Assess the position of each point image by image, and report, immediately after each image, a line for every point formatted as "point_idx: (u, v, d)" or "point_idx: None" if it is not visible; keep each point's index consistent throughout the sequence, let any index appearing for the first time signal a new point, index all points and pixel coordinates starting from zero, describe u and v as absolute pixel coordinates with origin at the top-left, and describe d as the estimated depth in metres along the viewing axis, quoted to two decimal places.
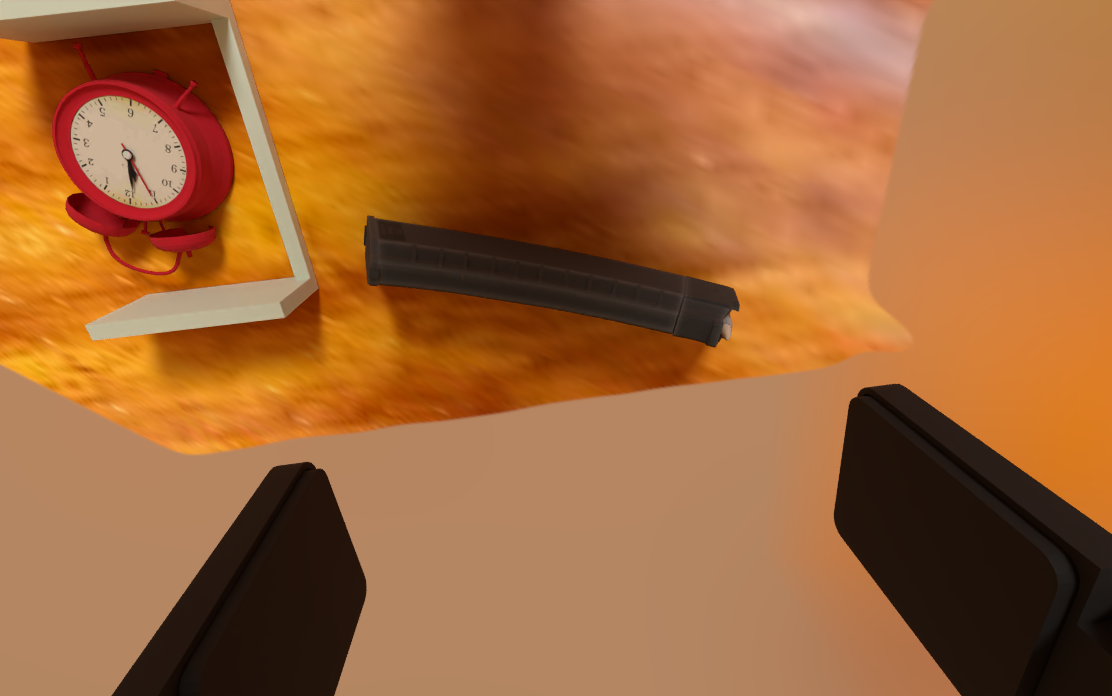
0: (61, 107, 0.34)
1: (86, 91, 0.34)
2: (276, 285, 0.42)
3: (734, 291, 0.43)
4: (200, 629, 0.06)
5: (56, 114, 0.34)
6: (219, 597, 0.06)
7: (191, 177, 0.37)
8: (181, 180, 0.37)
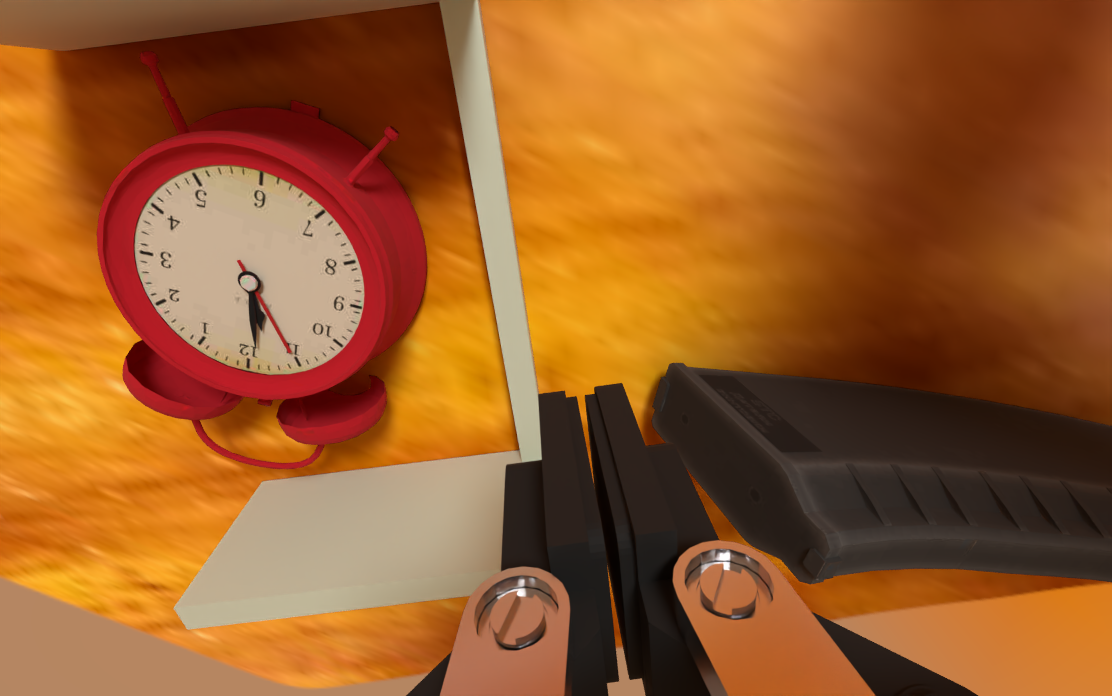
0: (116, 193, 0.16)
1: (169, 158, 0.16)
2: (497, 481, 0.23)
3: None
4: (582, 500, 0.07)
5: (105, 208, 0.16)
6: (574, 481, 0.07)
7: (373, 320, 0.18)
8: (351, 324, 0.18)
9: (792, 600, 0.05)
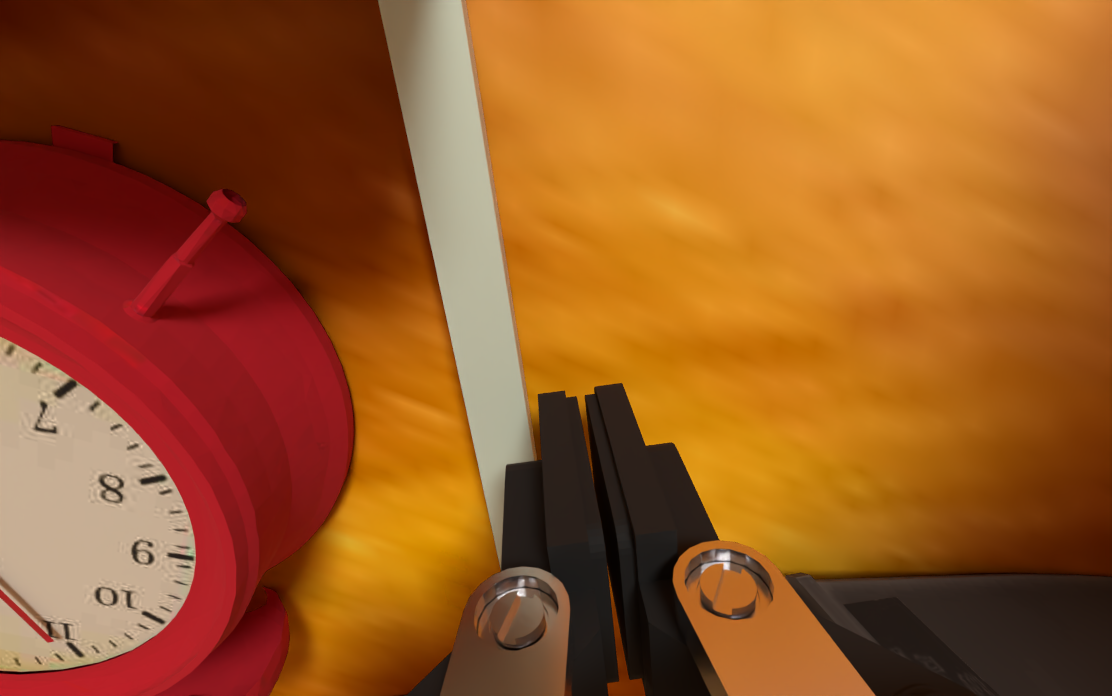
0: None
1: None
2: None
3: None
4: (581, 501, 0.07)
5: None
6: (574, 481, 0.07)
7: (217, 584, 0.09)
8: (175, 586, 0.09)
9: (792, 600, 0.05)
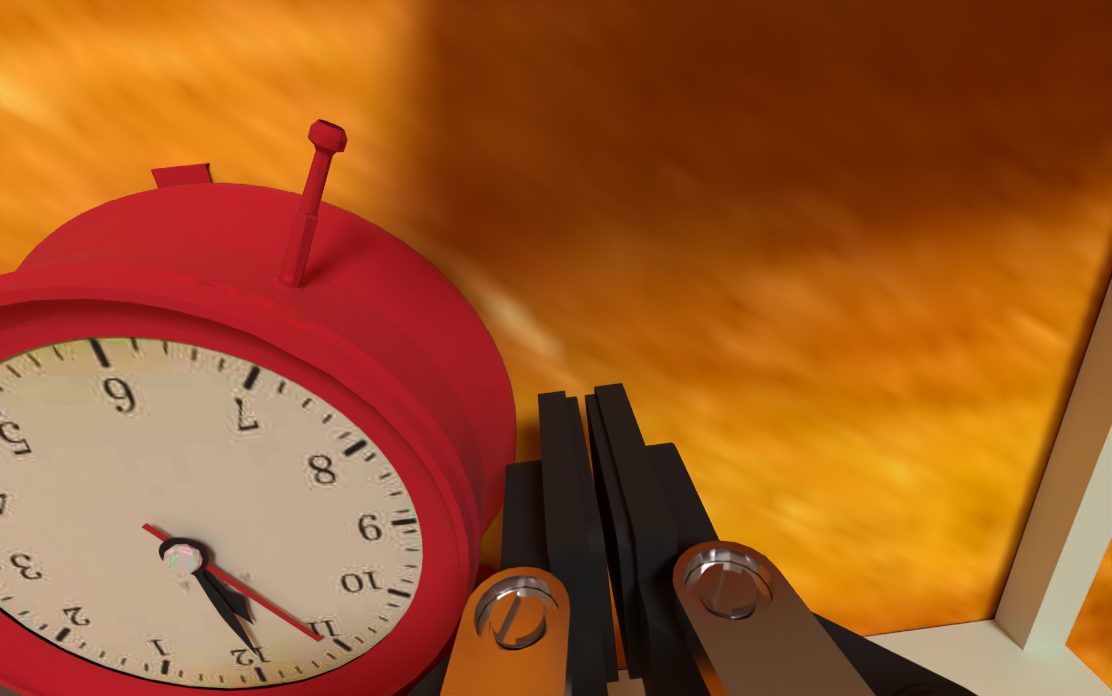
0: None
1: None
2: (1018, 695, 0.14)
3: None
4: (582, 501, 0.07)
5: None
6: (575, 481, 0.07)
7: (446, 538, 0.08)
8: (408, 555, 0.09)
9: (792, 600, 0.05)
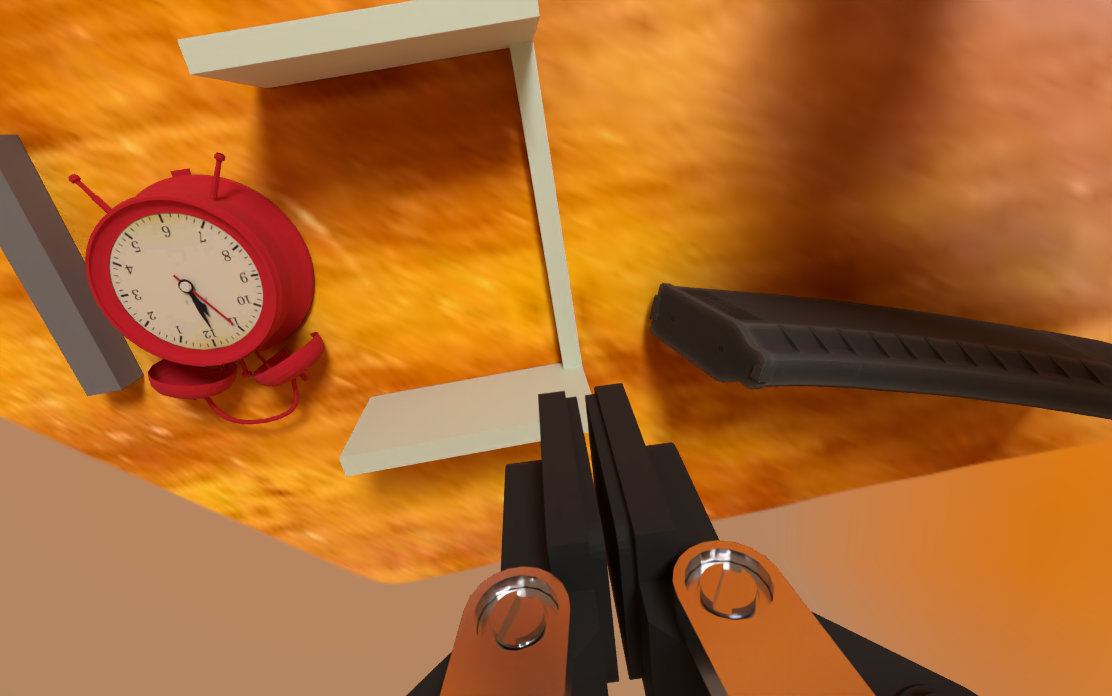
0: (90, 263, 0.26)
1: (107, 229, 0.25)
2: (547, 379, 0.32)
3: None
4: (582, 501, 0.07)
5: (89, 275, 0.26)
6: (575, 481, 0.07)
7: (267, 278, 0.27)
8: (258, 288, 0.27)
9: (792, 600, 0.05)
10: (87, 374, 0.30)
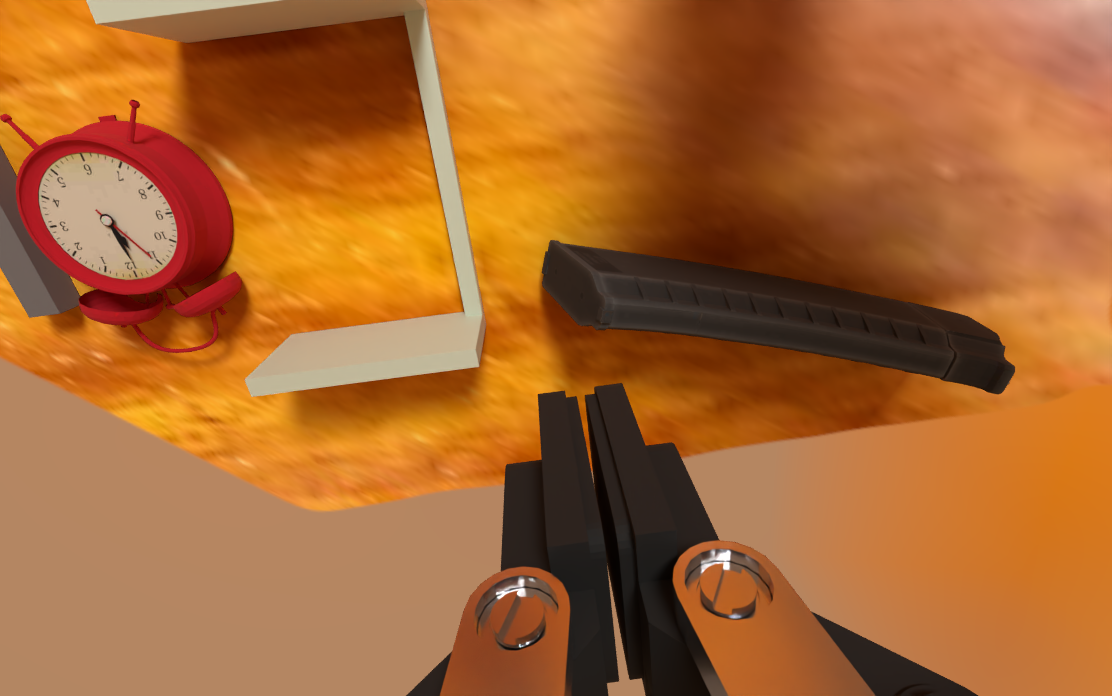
0: (20, 195, 0.29)
1: (34, 165, 0.29)
2: (447, 324, 0.36)
3: (973, 320, 0.36)
4: (582, 501, 0.07)
5: (19, 206, 0.29)
6: (574, 481, 0.07)
7: (179, 216, 0.30)
8: (172, 225, 0.31)
9: (792, 600, 0.05)
10: (29, 297, 0.33)
